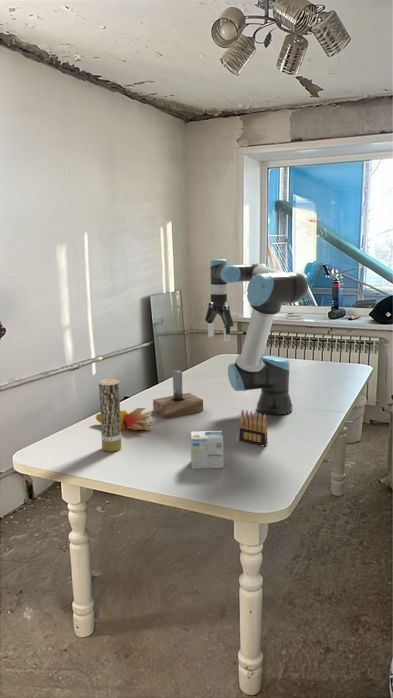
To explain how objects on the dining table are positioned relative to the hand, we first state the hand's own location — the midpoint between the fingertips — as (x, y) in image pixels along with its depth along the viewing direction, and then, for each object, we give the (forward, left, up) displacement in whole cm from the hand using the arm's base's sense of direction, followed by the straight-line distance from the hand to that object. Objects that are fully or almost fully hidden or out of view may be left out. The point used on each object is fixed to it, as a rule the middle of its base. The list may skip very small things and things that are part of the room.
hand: (218, 339), depth 245 cm
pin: (-11, +28, -25) cm, 39 cm away
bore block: (-11, +28, -27) cm, 40 cm away
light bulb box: (-64, +46, -27) cm, 83 cm away
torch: (-18, +56, -27) cm, 64 cm away
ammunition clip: (-57, +22, -27) cm, 67 cm away
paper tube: (-35, +68, -27) cm, 81 cm away
